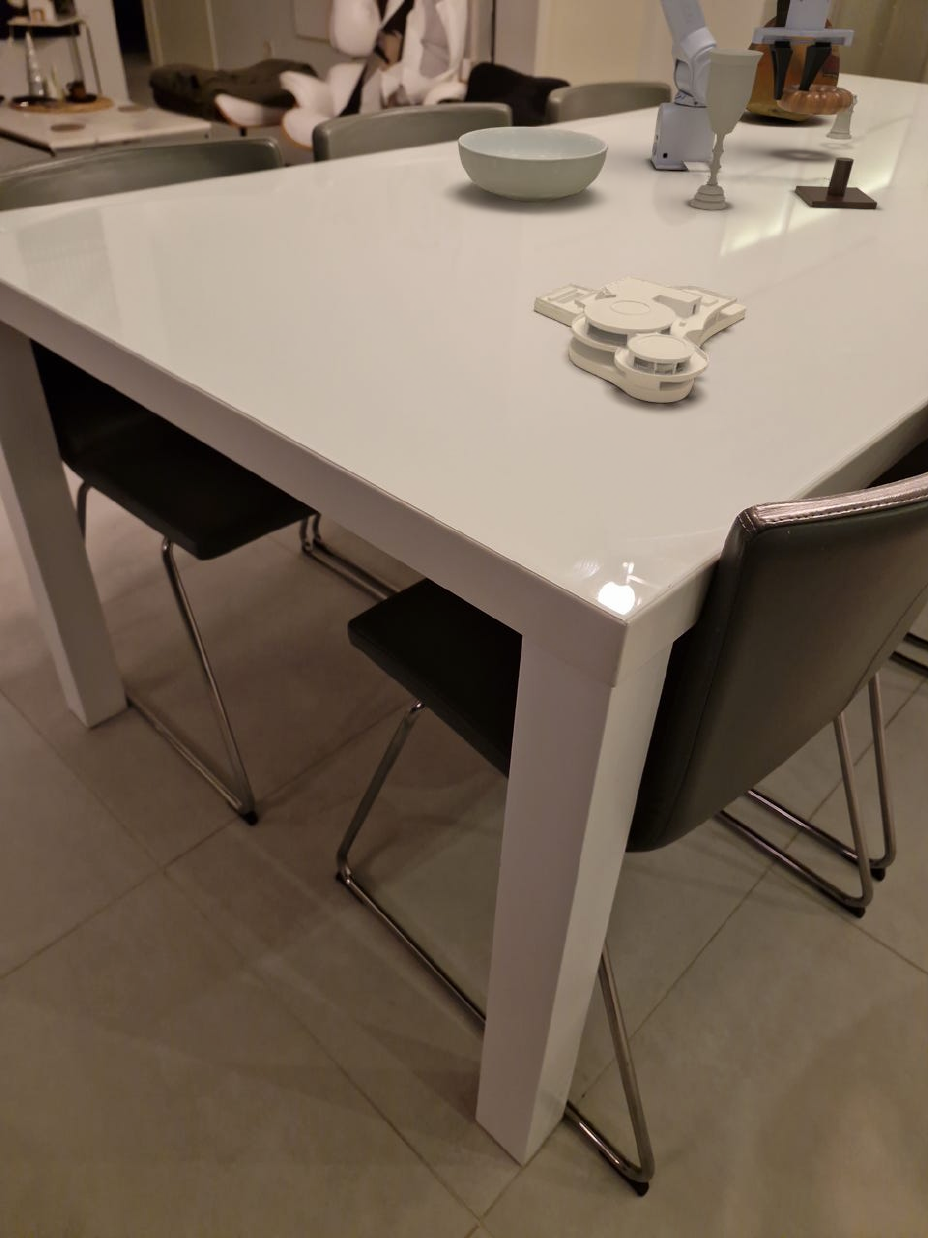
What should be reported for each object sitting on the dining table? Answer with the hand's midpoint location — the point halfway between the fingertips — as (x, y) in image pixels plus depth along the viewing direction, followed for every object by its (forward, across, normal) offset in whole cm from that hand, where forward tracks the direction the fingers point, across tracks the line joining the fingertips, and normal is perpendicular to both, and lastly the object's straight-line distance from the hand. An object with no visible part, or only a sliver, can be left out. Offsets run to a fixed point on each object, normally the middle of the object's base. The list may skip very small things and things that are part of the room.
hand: (788, 99), depth 135 cm
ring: (0, +4, 0) cm, 4 cm away
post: (+9, +3, -22) cm, 24 cm away
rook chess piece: (+10, +16, +18) cm, 25 cm away
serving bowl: (+10, -41, -24) cm, 48 cm away
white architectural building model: (+10, -32, -78) cm, 85 cm away
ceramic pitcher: (+10, +12, +45) cm, 47 cm away
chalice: (+10, -16, -27) cm, 33 cm away
